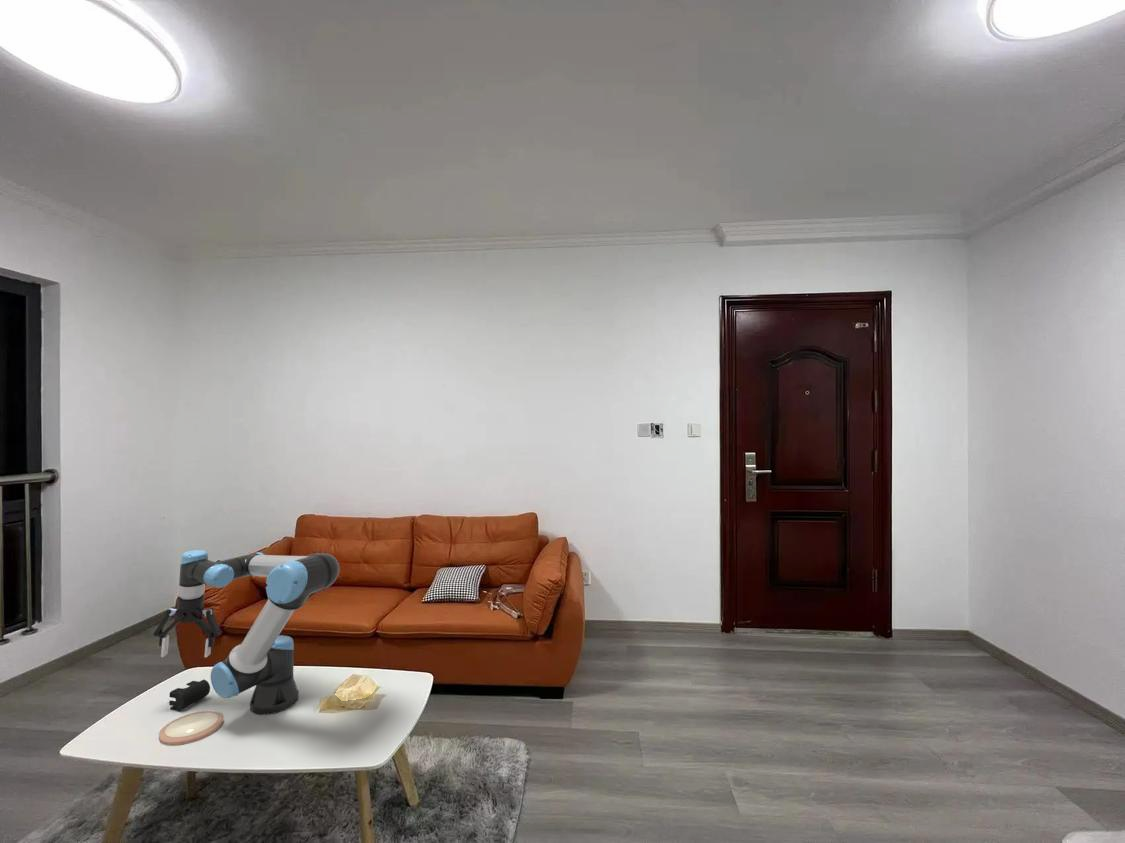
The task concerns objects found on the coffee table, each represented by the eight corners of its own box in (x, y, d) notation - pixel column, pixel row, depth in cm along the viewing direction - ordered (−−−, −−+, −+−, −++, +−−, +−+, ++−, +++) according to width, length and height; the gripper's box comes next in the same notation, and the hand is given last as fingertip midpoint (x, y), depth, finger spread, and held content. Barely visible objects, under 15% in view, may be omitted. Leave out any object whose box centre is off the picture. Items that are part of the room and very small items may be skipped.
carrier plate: (235, 716, 175) (235, 710, 175) (197, 746, 158) (197, 740, 158) (187, 714, 176) (187, 709, 176) (144, 744, 159) (144, 739, 159)
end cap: (183, 713, 177) (183, 693, 177) (167, 710, 179) (168, 690, 179) (210, 699, 187) (210, 680, 187) (195, 696, 189) (195, 677, 189)
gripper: (235, 592, 187) (229, 650, 187) (157, 590, 182) (152, 649, 182) (225, 600, 179) (220, 660, 179) (144, 598, 175) (139, 660, 175)
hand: (186, 655), depth 181 cm, fingers open, 13 cm apart
